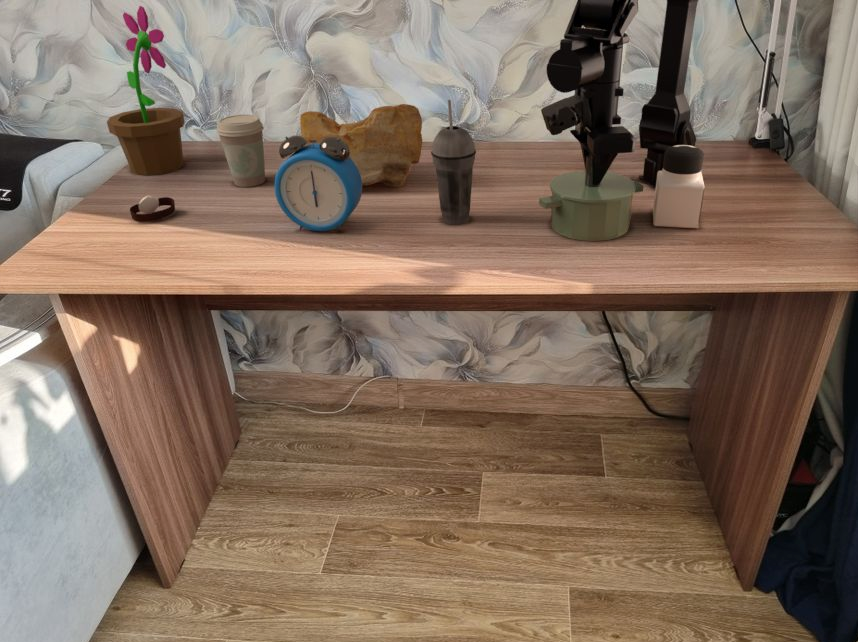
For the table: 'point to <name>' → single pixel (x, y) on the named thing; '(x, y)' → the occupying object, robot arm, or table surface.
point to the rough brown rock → (374, 141)
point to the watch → (152, 209)
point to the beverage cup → (454, 171)
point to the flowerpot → (148, 112)
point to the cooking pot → (589, 217)
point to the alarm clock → (317, 183)
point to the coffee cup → (243, 148)
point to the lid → (592, 186)
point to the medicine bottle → (679, 188)
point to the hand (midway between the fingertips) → (592, 181)
